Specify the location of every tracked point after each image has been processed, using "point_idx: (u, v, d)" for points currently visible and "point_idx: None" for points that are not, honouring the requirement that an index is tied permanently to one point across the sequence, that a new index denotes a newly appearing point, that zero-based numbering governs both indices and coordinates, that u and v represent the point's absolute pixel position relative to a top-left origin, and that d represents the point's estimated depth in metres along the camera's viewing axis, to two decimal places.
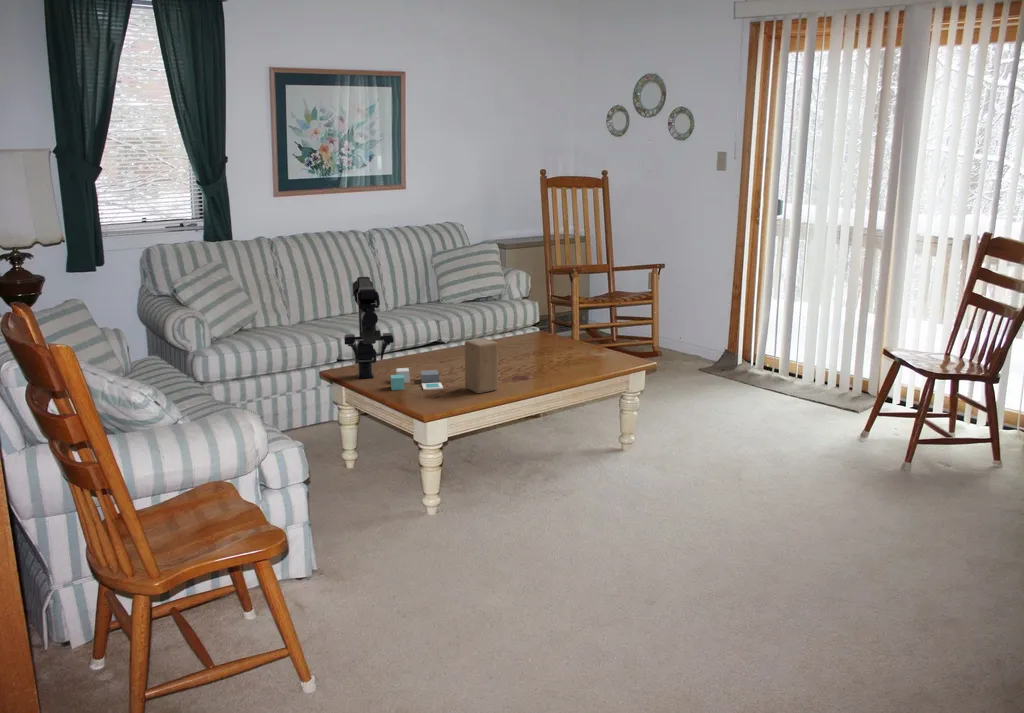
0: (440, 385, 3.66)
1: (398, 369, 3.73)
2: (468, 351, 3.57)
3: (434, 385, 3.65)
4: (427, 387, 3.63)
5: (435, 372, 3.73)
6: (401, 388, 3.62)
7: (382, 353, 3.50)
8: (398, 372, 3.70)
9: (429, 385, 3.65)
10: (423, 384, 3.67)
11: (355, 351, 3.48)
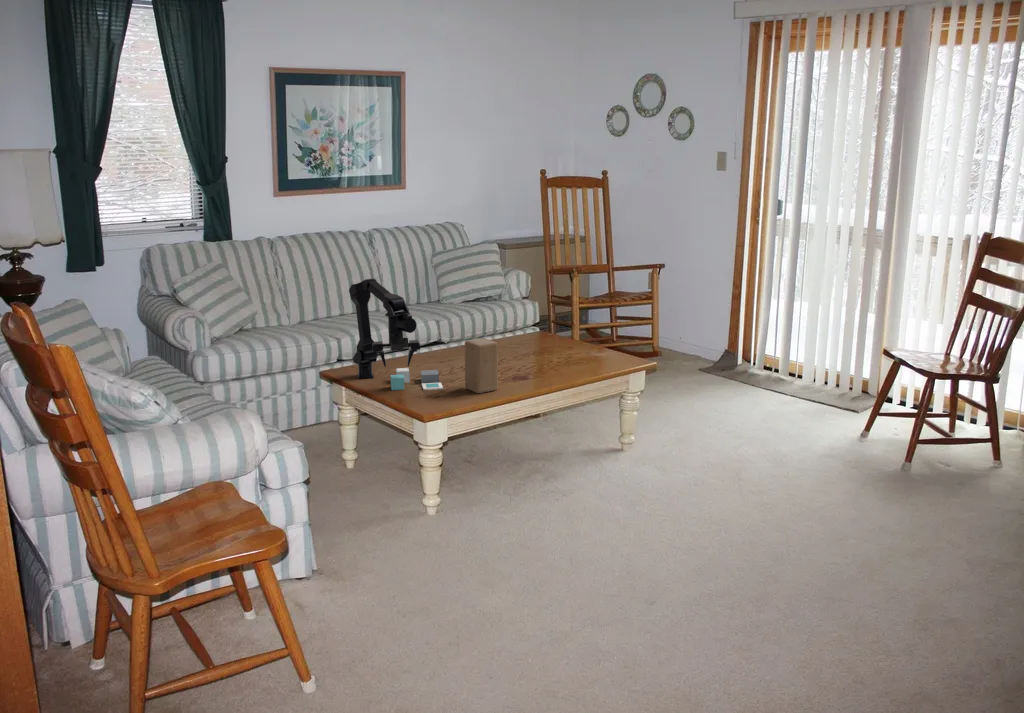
0: (440, 385, 3.66)
1: (398, 369, 3.73)
2: (468, 351, 3.57)
3: (434, 385, 3.65)
4: (427, 387, 3.63)
5: (435, 372, 3.73)
6: (401, 388, 3.62)
7: (409, 360, 3.61)
8: (398, 372, 3.70)
9: (429, 385, 3.65)
10: (423, 384, 3.67)
11: (383, 358, 3.58)
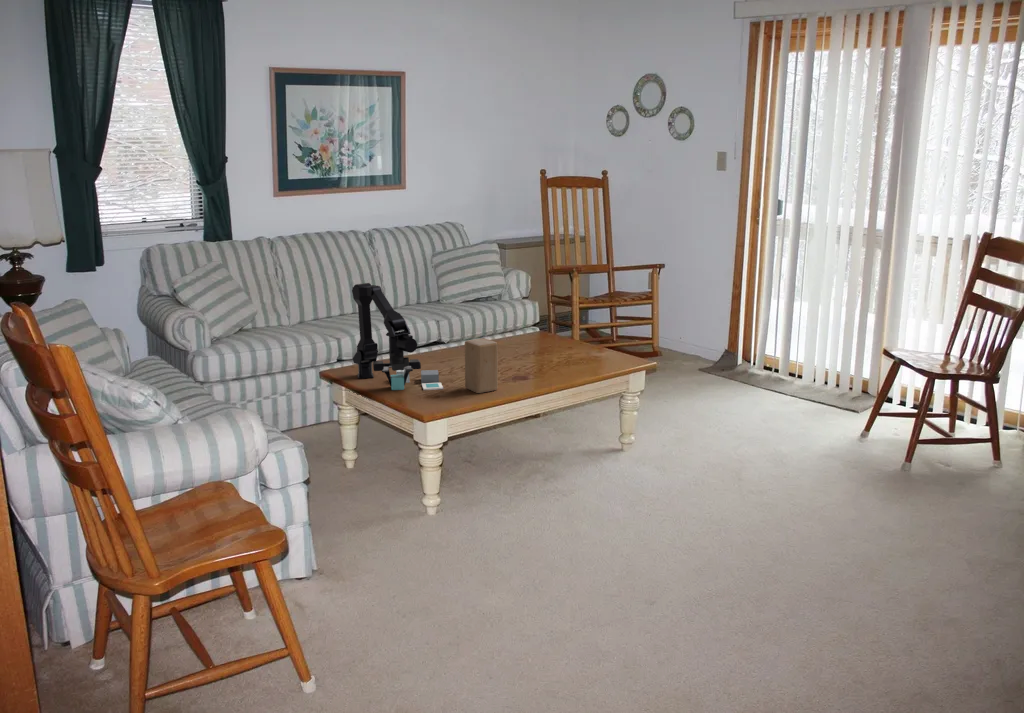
0: (440, 385, 3.66)
1: None
2: (468, 351, 3.57)
3: (434, 385, 3.65)
4: (427, 387, 3.63)
5: (435, 372, 3.73)
6: (401, 388, 3.62)
7: (405, 379, 3.63)
8: (398, 372, 3.70)
9: (429, 385, 3.65)
10: (423, 384, 3.67)
11: (388, 377, 3.61)
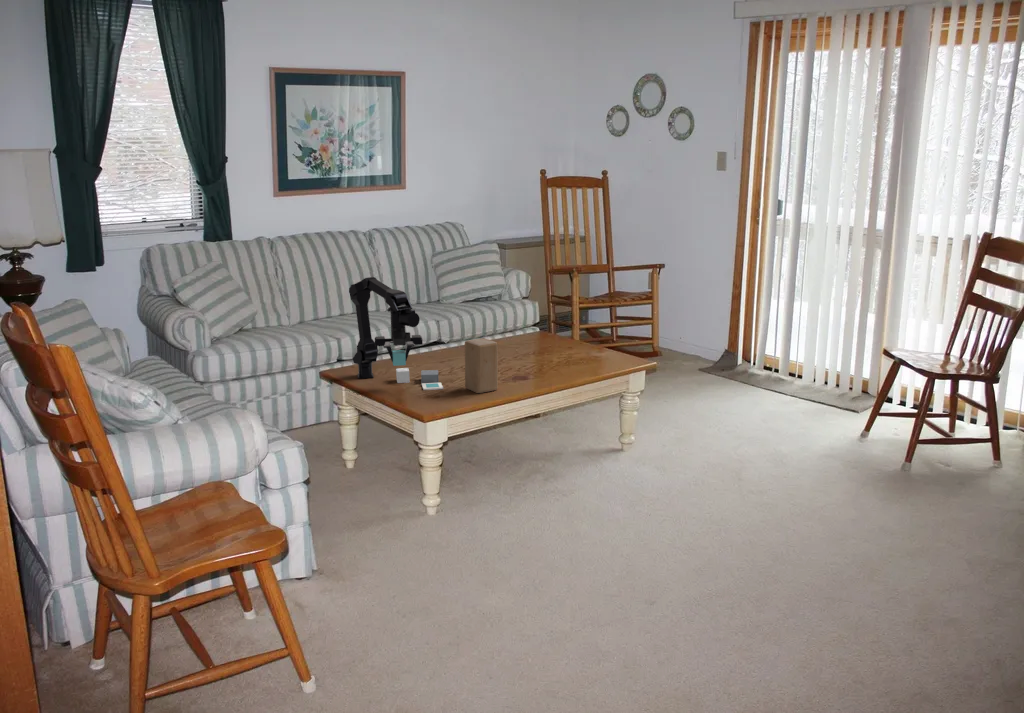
0: (440, 385, 3.66)
1: (398, 369, 3.73)
2: (468, 351, 3.57)
3: (434, 385, 3.65)
4: (427, 387, 3.63)
5: (435, 372, 3.73)
6: (403, 363, 3.60)
7: (406, 355, 3.61)
8: (398, 372, 3.70)
9: (429, 385, 3.65)
10: (423, 384, 3.67)
11: (390, 352, 3.59)
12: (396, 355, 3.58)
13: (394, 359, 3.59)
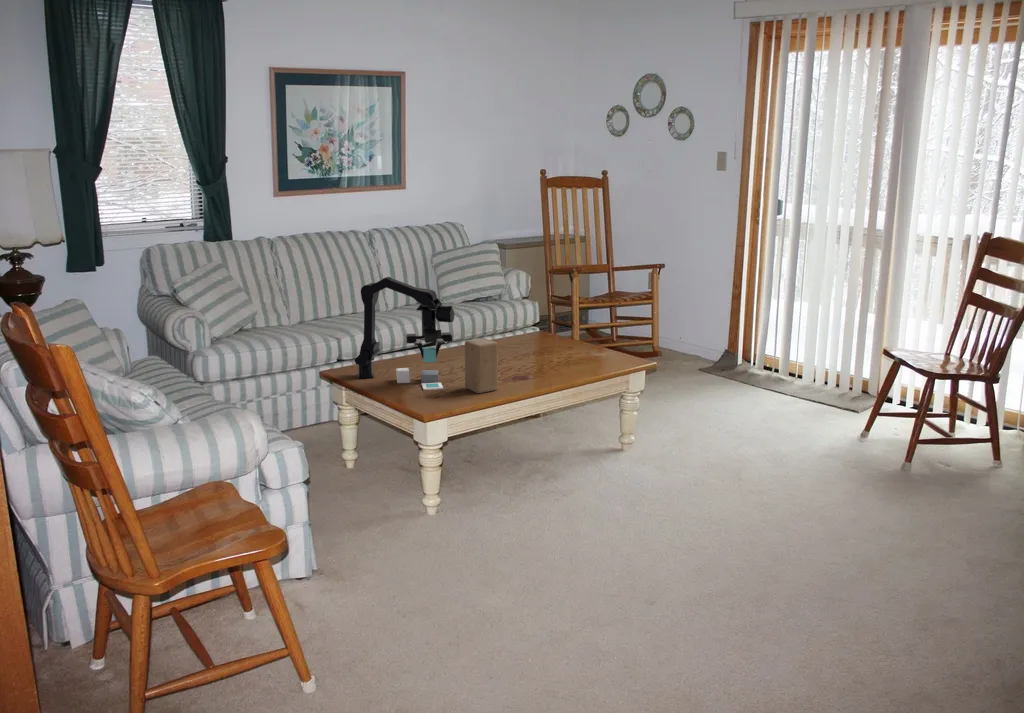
0: (440, 385, 3.66)
1: (398, 369, 3.73)
2: (468, 351, 3.57)
3: (434, 385, 3.65)
4: (427, 387, 3.63)
5: (435, 372, 3.73)
6: (433, 360, 3.70)
7: (436, 352, 3.71)
8: (398, 372, 3.70)
9: (429, 385, 3.65)
10: (423, 384, 3.67)
11: (421, 349, 3.69)
12: (427, 352, 3.68)
13: (425, 356, 3.69)
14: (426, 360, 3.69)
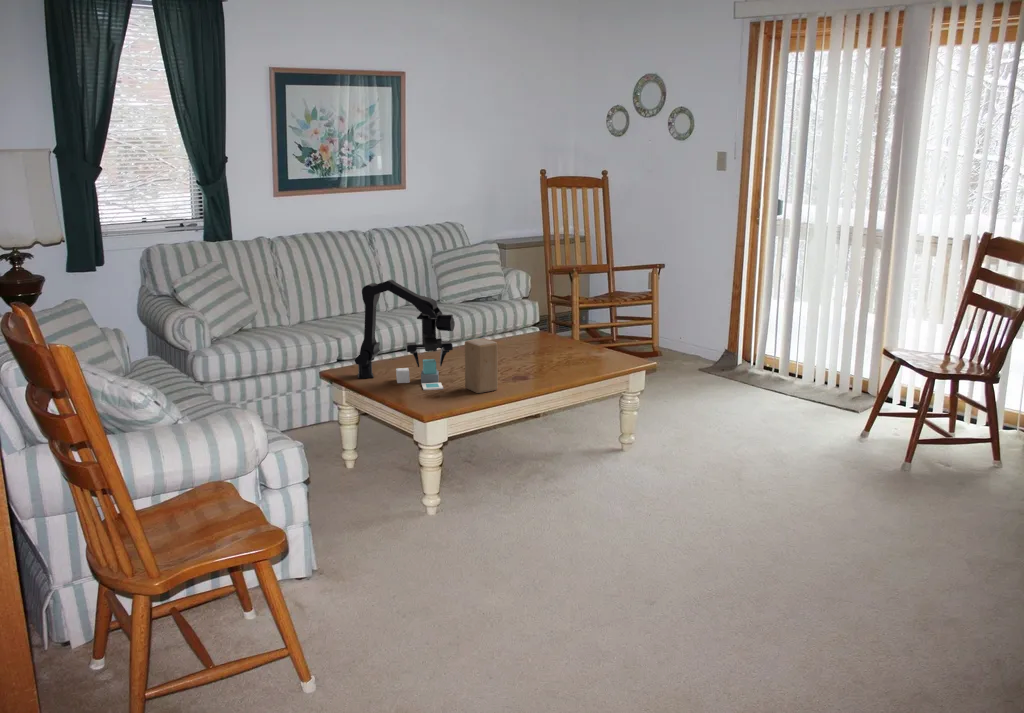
0: (440, 385, 3.66)
1: (398, 369, 3.73)
2: (468, 351, 3.57)
3: (434, 385, 3.65)
4: (427, 387, 3.63)
5: None
6: (433, 372, 3.71)
7: (441, 360, 3.72)
8: (398, 372, 3.70)
9: (429, 385, 3.65)
10: (423, 384, 3.67)
11: (416, 358, 3.69)
12: (427, 364, 3.70)
13: (425, 368, 3.70)
14: (426, 372, 3.70)
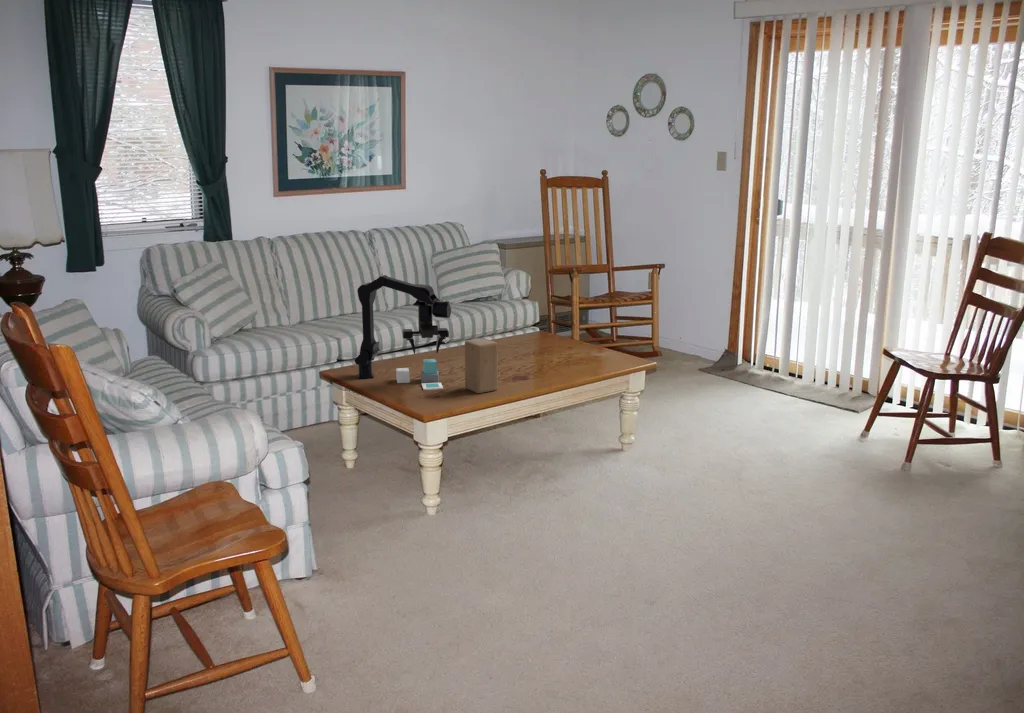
0: (440, 385, 3.66)
1: (398, 369, 3.73)
2: (468, 351, 3.57)
3: (434, 385, 3.65)
4: (427, 387, 3.63)
5: None
6: (434, 372, 3.71)
7: (438, 347, 3.71)
8: (398, 372, 3.70)
9: (429, 385, 3.65)
10: (423, 384, 3.67)
11: (412, 345, 3.68)
12: (428, 364, 3.70)
13: (426, 368, 3.70)
14: (427, 372, 3.71)
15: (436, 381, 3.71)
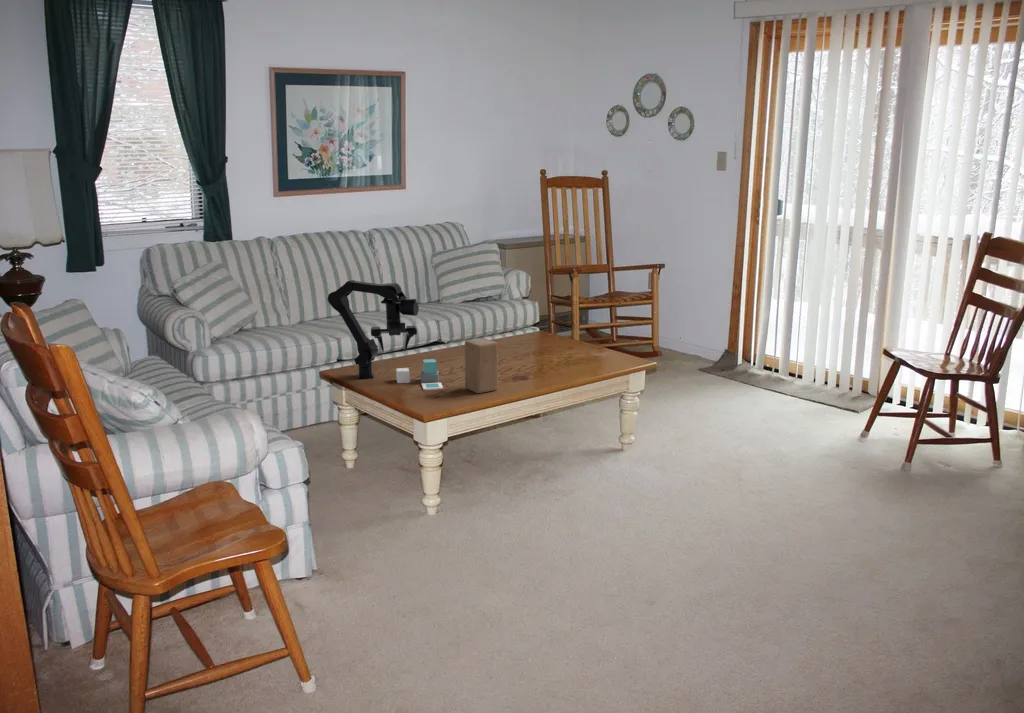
0: (440, 385, 3.66)
1: (398, 369, 3.73)
2: (468, 351, 3.57)
3: (434, 385, 3.65)
4: (427, 387, 3.63)
5: None
6: (434, 372, 3.71)
7: (406, 344, 3.74)
8: (398, 372, 3.70)
9: (429, 385, 3.65)
10: (423, 384, 3.67)
11: (381, 342, 3.71)
12: (428, 364, 3.70)
13: (426, 368, 3.70)
14: (427, 372, 3.70)
15: (436, 381, 3.71)
